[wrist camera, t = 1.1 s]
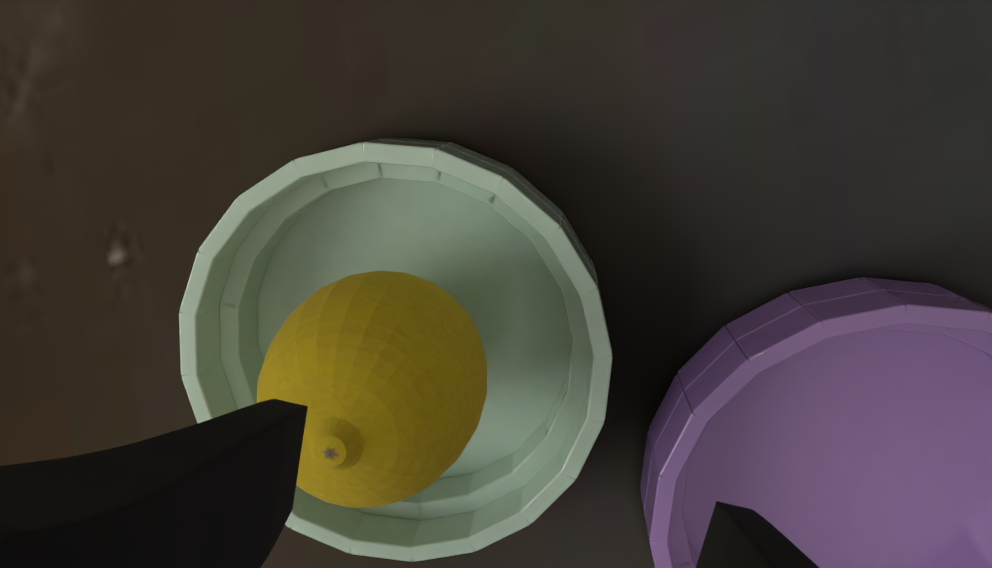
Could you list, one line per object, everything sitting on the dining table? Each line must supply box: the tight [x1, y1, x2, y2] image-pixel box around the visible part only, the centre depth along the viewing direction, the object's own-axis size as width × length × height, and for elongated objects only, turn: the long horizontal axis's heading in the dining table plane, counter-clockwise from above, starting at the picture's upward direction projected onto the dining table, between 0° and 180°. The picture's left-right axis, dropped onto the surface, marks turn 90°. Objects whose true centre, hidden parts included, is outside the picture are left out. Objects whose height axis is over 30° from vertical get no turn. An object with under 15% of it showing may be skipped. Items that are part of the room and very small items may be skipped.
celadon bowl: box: [179, 137, 613, 562], centre depth 22 cm, size 12×12×3 cm
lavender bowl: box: [640, 277, 992, 568], centre depth 21 cm, size 13×13×3 cm
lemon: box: [256, 270, 487, 507], centre depth 19 cm, size 6×6×8 cm
